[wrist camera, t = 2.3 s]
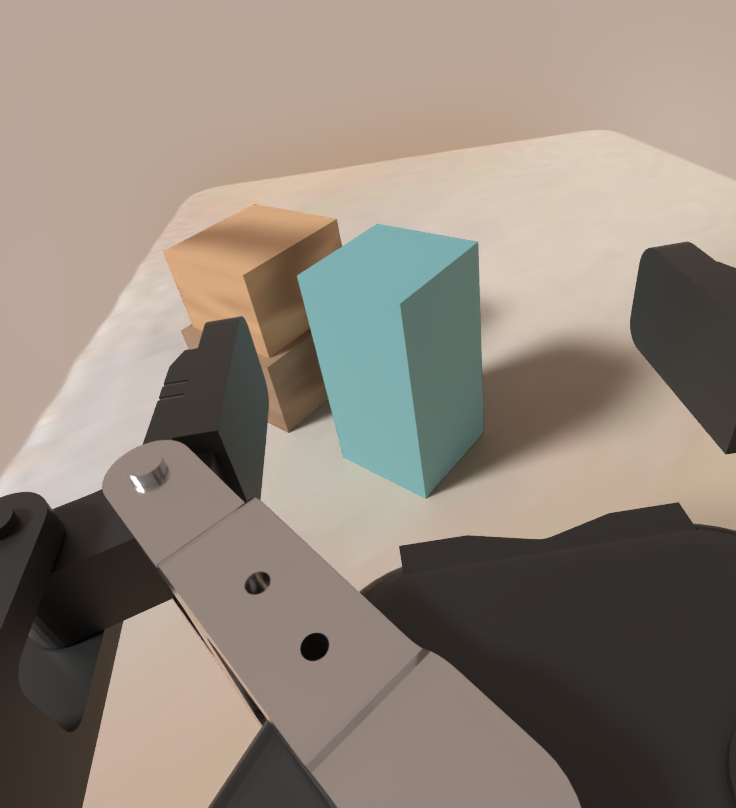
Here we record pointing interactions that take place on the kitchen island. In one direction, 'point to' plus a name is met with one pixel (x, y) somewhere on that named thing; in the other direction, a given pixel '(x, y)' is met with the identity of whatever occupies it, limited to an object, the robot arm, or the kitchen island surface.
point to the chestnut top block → (253, 271)
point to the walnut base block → (286, 379)
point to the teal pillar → (400, 350)
